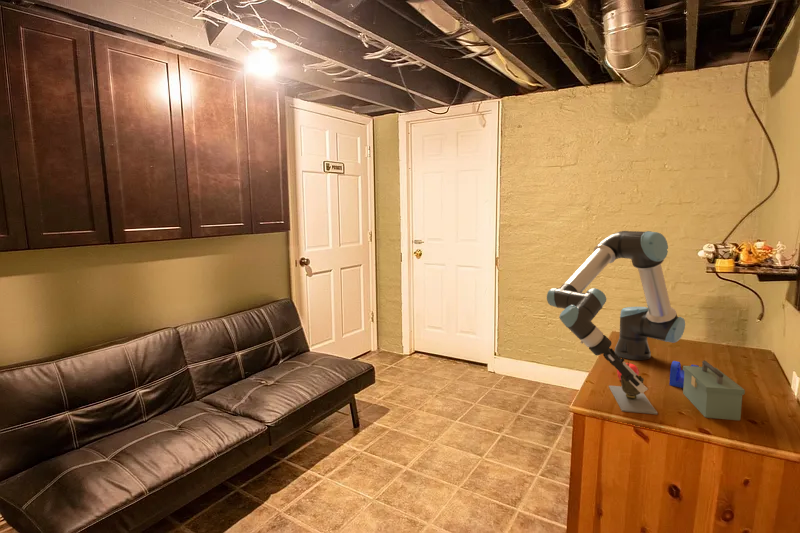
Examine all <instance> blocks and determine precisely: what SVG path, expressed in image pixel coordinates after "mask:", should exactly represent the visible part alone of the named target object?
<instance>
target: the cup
mask: <svg viewBox="0 0 800 533" xmlns="http://www.w3.org/2000/svg"><path fill="white" fill-rule="evenodd" d="M628 376H629V375H628ZM636 378H637V379H638V380H639V381H640V382H641V383H642V384H643V385H644V380H645V379H644V377H643V376H641V375H636ZM625 380H626V378H625V377H624V376H623V375H621V380H620V383H621V386H622V390H623V391H624V392H625V393H626V397H627V398H629V399H636V398H637V395H638V394H640V392H639V391H638V390H637V389H636V388H635V387H634V386H633V385H632V384H631V383H630V382H629V381H627V382H626V381H625Z"/></svg>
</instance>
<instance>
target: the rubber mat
mask: <svg viewBox="0 0 800 533" xmlns="http://www.w3.org/2000/svg"><path fill="white" fill-rule="evenodd" d="M608 388H609V390H610V391H611V393H612V395H613V397H614V399H615V401H616V403H617V405H618V406H619V408H620V411H621V412H628V413H635V414H636V413H637V414H638V413H640V414H647V415H650V414H651V415H658V413H659V412H658V411H657V410H656V409H655V407H654V405H652V404H651V401H650V400H649V399H648V398H647V396H646V394H645V392H644V393H642V394H641V393H640V394H638V395H637V398H636V399H629V398H627V397H626V393H625V392H624V391H623V390H622V385H621V386H620V385H608Z"/></svg>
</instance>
